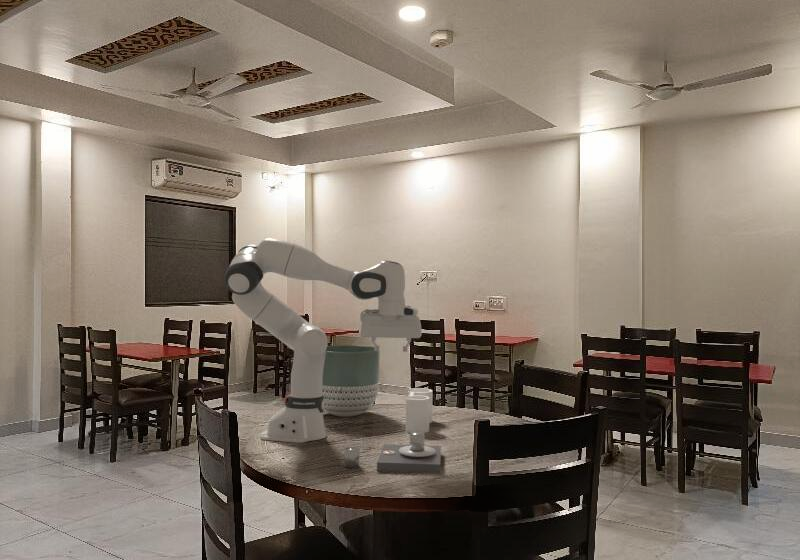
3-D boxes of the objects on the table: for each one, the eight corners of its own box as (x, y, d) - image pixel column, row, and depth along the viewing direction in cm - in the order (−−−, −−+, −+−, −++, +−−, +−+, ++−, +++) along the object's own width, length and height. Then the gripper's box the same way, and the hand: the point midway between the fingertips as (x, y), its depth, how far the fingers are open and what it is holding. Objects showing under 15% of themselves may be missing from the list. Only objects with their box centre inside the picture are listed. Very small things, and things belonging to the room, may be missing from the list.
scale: (377, 471, 178) (377, 458, 178) (384, 452, 198) (384, 440, 198) (440, 473, 177) (440, 460, 177) (440, 454, 197) (440, 442, 197)
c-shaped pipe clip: (430, 433, 224) (431, 400, 224) (403, 433, 225) (403, 399, 225) (432, 418, 249) (433, 388, 249) (408, 418, 250) (408, 387, 250)
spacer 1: (345, 468, 180) (345, 450, 181) (342, 464, 185) (343, 447, 185) (360, 467, 181) (360, 450, 182) (357, 463, 186) (358, 446, 186)
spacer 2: (409, 451, 186) (409, 435, 186) (410, 447, 190) (410, 431, 190) (424, 452, 185) (424, 435, 185) (424, 448, 190) (424, 431, 190)
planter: (313, 408, 266) (314, 345, 266) (376, 407, 269) (377, 345, 269) (311, 422, 239) (312, 352, 239) (381, 421, 242) (382, 352, 242)
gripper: (359, 309, 205) (358, 351, 205) (421, 310, 204) (420, 353, 204) (361, 308, 211) (361, 349, 211) (422, 309, 210) (421, 350, 210)
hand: (391, 351), depth 207 cm, fingers open, 8 cm apart
